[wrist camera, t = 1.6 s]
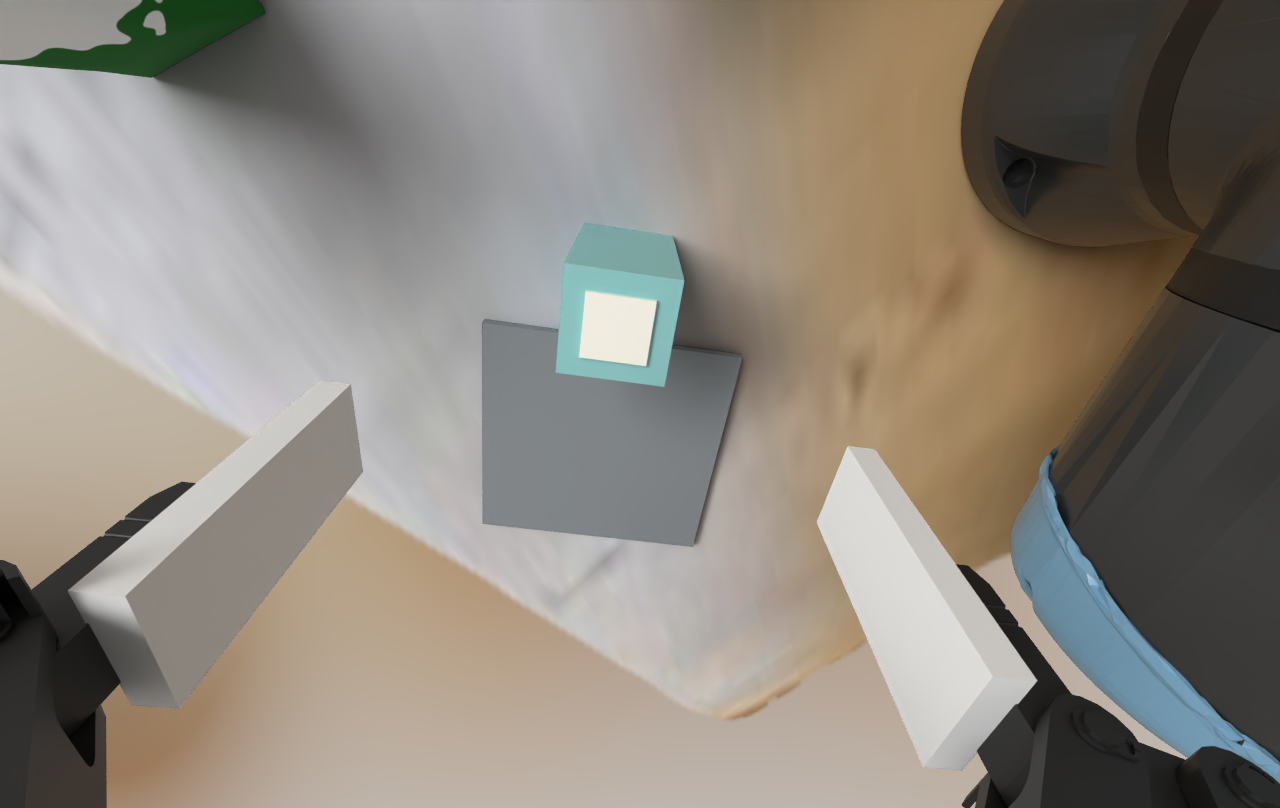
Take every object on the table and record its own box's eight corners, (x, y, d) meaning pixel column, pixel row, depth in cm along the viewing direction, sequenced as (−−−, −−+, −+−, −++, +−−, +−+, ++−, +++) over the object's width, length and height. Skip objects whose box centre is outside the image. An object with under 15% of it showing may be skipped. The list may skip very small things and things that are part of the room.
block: (672, 236, 29) (684, 281, 21) (658, 319, 32) (664, 389, 24) (584, 222, 29) (563, 264, 21) (576, 308, 31) (554, 374, 23)
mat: (740, 354, 33) (742, 358, 32) (692, 541, 41) (692, 546, 40) (484, 319, 32) (482, 322, 31) (484, 518, 39) (482, 523, 39)
